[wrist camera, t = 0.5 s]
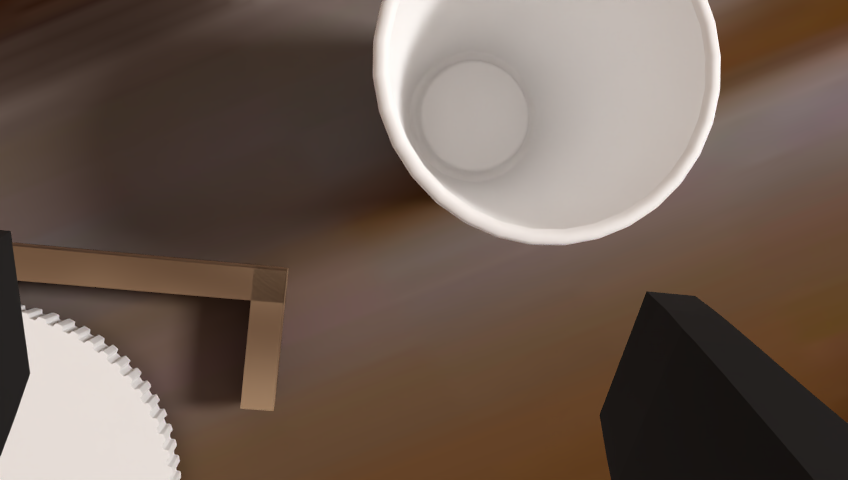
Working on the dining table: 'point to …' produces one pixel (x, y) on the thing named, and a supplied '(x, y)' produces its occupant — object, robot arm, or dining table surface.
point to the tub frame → (184, 279)
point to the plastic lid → (84, 412)
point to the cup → (547, 107)
